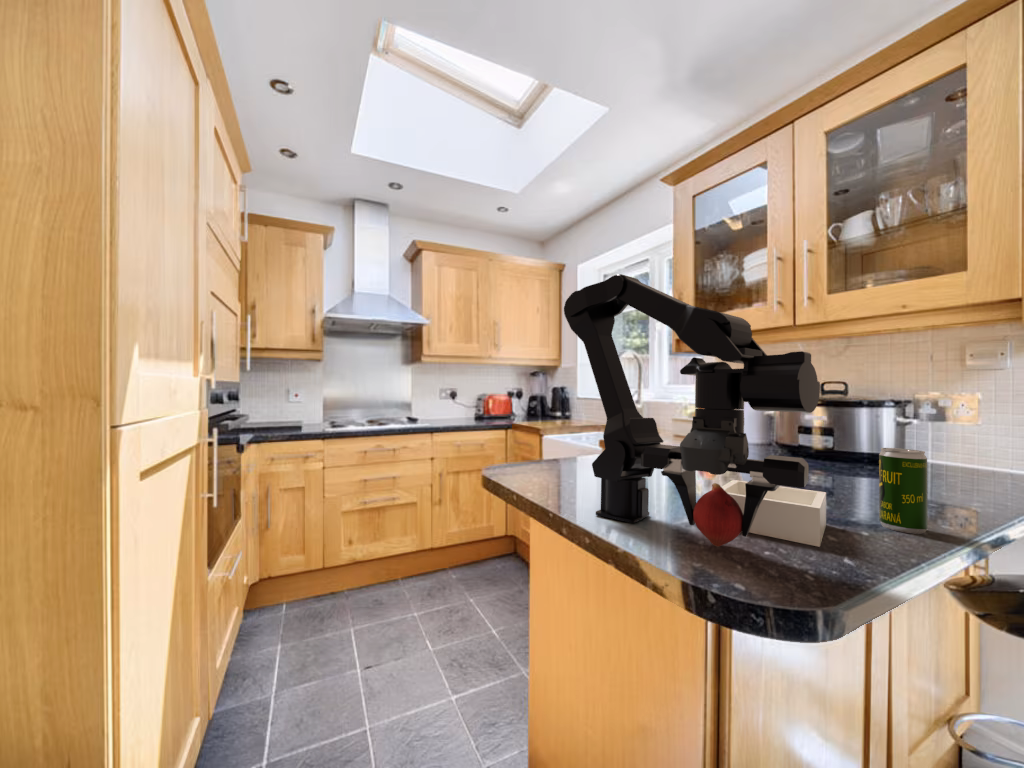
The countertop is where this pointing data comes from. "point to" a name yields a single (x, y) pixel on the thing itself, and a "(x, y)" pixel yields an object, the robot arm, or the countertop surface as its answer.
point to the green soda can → (903, 490)
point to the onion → (718, 516)
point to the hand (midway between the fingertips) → (717, 530)
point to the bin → (786, 513)
